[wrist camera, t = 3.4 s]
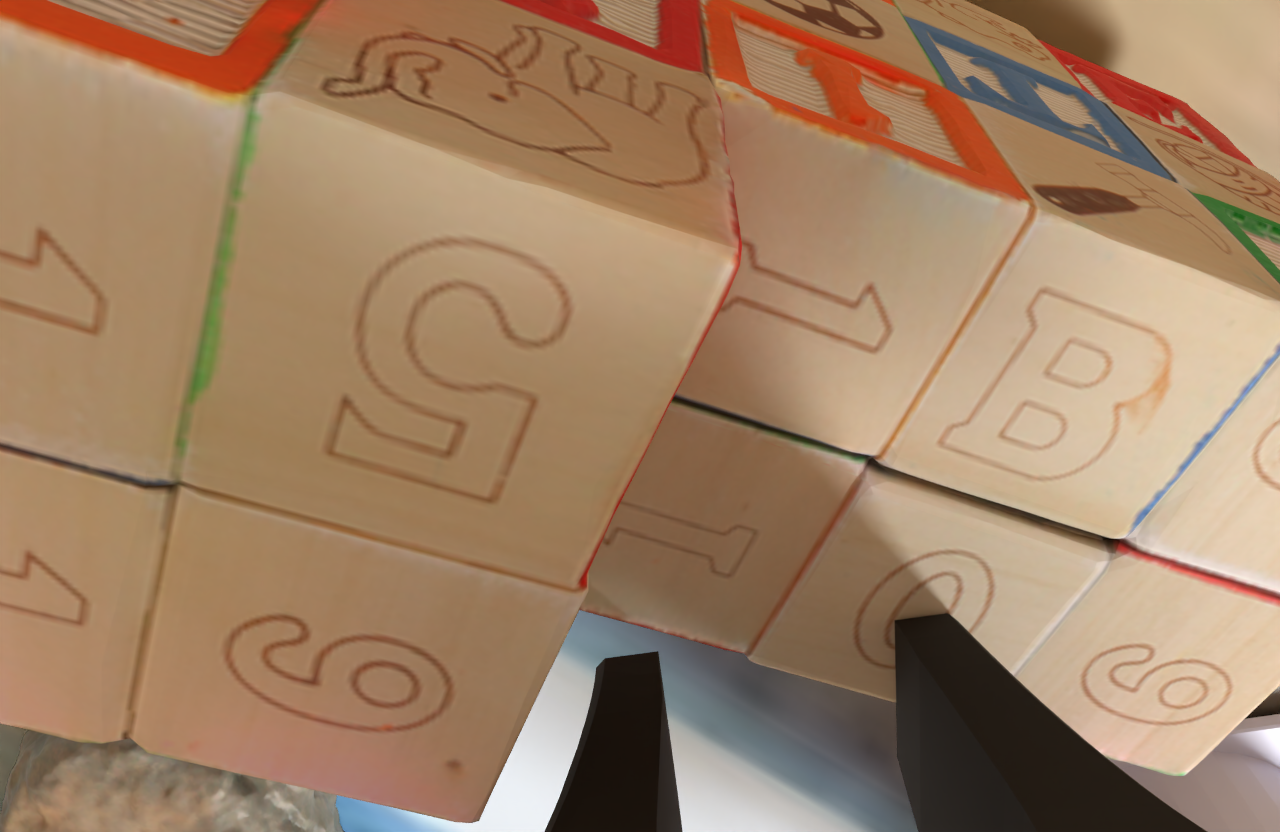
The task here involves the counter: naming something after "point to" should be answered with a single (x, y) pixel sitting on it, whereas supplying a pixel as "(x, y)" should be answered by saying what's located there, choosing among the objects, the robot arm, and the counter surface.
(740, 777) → the counter surface
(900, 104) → the stack of blocks
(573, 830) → the robot arm
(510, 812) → the counter surface
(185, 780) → the long grey stone
